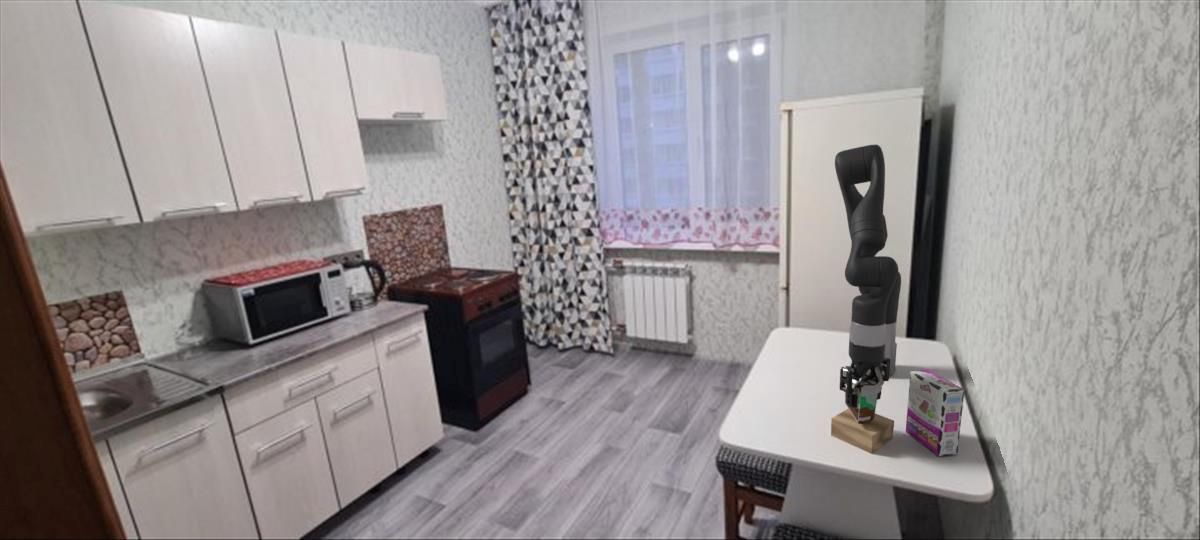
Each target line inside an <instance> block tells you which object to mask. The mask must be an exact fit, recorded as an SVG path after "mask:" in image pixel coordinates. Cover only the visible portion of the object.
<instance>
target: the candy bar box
mask: <svg viewBox="0 0 1200 540" xmlns="http://www.w3.org/2000/svg"><path fill="white" fill-rule="evenodd" d="M964 396H965V389H964V388H962V387H961V386H959V385H957V384H955V383H954V382H951V381H950V380H947V379H946V378H944V377H942V376H940V375H938V374H937V373H935V372H933V371H932V370H930V369H922V370H913V371H910V376H909V387H908V399H907V411H906V421H905V423H906V424H905V432H906V433H907V434H908V435H910V436H911V437H912V438H914V439H915V440H916V441H917V442H918V443H920V444H921V445H922V446H924V447H926V448H927V449H928V450H930V452H932V453H933V454H935V455H936V456H937V457H940V458H941V457H947V456H949V457H950V456H957V455H958V454H959V453H958V452H959V442H960V432H961V425H962V424H961V423H962V418H963V417H962V414H963V409H964V399H965V398H964Z"/></svg>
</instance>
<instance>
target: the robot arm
mask: <svg viewBox="0 0 1200 540" xmlns="http://www.w3.org/2000/svg"><path fill="white" fill-rule="evenodd" d="M882 149H883V148H882V147H881V146H880V145H879V144H868V145H863V146H859V147H854V148H849V149H844V150H842V151H838V153H836V155H835V156H834V157H835V158H834V169H835V174H836V177H837V181H838V185H839V189H840V192H841V195H842V199H843V203H844V207H845V213H846V219H847V226H848V231H849V232H848V233H849V236H850V240H851V245H850V246H851V247H850V253H849V256H848V259H847V262H846V266H845V269H844V278H845V280H846V282H847V283H848V285H851V286H852V287H857V288H858V291H859V293H860V294H859V295H856V296H855V297H853V299H852V302H851V319H850V326H849V336H848V337H849V338H848V339H849V340H848V356H849V358H850V360H851V363H850V365H849V366H850V367H848V368H845V367H844V366H842V367H840V369H839V372H840V373H839V390H840V391H843V393H845V392H846V393H847V399H846V403H847V405H848V406H850V407H852V408H856V407H857V392H858V386H863V384H864V382H865V381H867V380H868V379H873V377H874V378H876V379H877V378H878V377H879V379H880V381H881V385H882V386H884V384H885V382H889V381H890V376H893V374H894V373H895V371H896V362H897V347H898V343H897V342H896V337H897V336H896V335H897V319H898V311H899V302H900V301H899V300H900V295H901V288H902V275H901V272H900V271H899V266H898V263H897V261H896V260H895V259H894V258H892V257H891V256H887V255H885V256H882V255H880V256H877V254H878V253H879V252H880V251H882V250H883V249H884V248H885V246H886V242H887V240H888V234H889V233H888V230H887V229H888V227H887V221H886V220H887V219H886V217H885V215H884V203H885V189H886V188H885V187H886V186H885V185H886V163H885V156H884V153H883V150H882ZM865 183H870V184H869V187H868V189H867V191H866V193H865V194H864V195H862V194H861V193H860V191H859V190H858V188H857V187H856V185H858V184H859V185H860V184H865ZM854 376H855V378H857V379H859V381H855V380H854ZM853 383H854V384H855V386H854V388H852V384H853ZM845 384H847V385H846V386H845ZM881 396H882V391H881V392H879V393H878V397H877V401H878V400H881Z"/></svg>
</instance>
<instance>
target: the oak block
mask: <svg viewBox="0 0 1200 540" xmlns="http://www.w3.org/2000/svg"><path fill="white" fill-rule="evenodd" d="M830 426H831V427H830V436H831V437H833V438H836V439H838V440H840V441H843V442H844V443H846V444H849V445H851V446H854V447H855V448H857V449H860V450H862V451H864V452H867V453H868V454H873V453H874V452H876V451H877V450H879V449H880V448H881V447H883V446H884V445H886V444H887V443H888V442H890V441H892V439H894V431H895V429H894V428H895V420H893V419H891V418H888V417H886V416H883V415H881V414H878V413H875V416H874V419H873V420H872V421H870V422H868V423H863V424H858V423H857V421H856V420H855V418H854V417H853V415H852V414H851V412H850V410H849V409H848V408H847V409H845V410H843V411H842V412H840V413H838V414H837V415H834V416H833V417H832V418H831V424H830Z"/></svg>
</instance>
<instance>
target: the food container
mask: <svg viewBox="0 0 1200 540" xmlns="http://www.w3.org/2000/svg"><path fill="white" fill-rule="evenodd" d="M848 367H850V365H845V368H848ZM854 380H855V381H859V379H857V378H855V376H854ZM846 385H847V384H845V386H846ZM854 386H855V384H854V383H853V384H852V388H854ZM882 390H883V385H881V381H880V379H879V377H878V378H877V379H876V378H874V377H873V379H868V380H867V381H865V382H864V384H863V386H858V392H857V407H856V408H852V407H850V406H848V405H847V403H846V399H847V393H846V392H844V404H845V406H846V408H847V409H849V410H850V412H851V414H852V415H853V417H854V418H855V420H856V421H857V423H858V424H863V423H868V422H870V421H872V420H873V419H874V416H875V414H876V408H877V403H878V400H877V397H878V393H879V392H881V393H882Z"/></svg>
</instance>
